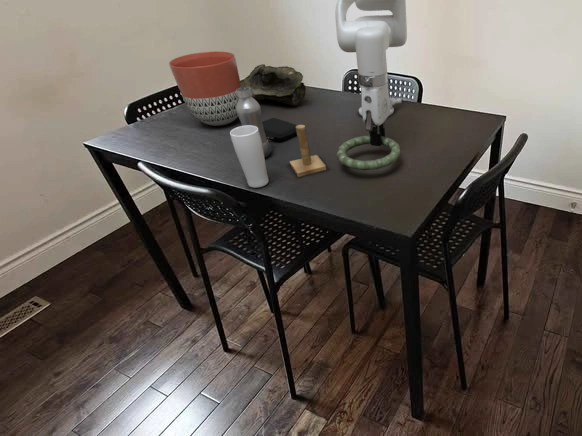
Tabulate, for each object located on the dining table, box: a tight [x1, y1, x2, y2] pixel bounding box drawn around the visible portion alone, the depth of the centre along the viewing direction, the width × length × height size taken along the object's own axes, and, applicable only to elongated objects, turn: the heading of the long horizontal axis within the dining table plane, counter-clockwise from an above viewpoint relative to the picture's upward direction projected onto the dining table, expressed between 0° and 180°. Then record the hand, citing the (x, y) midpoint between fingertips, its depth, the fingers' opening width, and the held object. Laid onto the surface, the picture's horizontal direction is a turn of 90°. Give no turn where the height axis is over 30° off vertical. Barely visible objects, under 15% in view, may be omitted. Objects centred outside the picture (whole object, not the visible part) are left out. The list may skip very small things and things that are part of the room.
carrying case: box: [262, 117, 297, 142], centre depth 135 cm, size 11×3×15 cm
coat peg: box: [289, 124, 327, 178], centre depth 113 cm, size 8×8×12 cm
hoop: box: [336, 135, 401, 171], centre depth 114 cm, size 17×17×2 cm
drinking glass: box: [229, 125, 270, 189], centre depth 106 cm, size 7×7×15 cm
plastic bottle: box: [236, 86, 272, 158], centre depth 117 cm, size 6×7×20 cm
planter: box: [168, 50, 242, 127], centre depth 139 cm, size 20×20×21 cm
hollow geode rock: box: [242, 63, 307, 107], centre depth 159 cm, size 28×13×15 cm
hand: (378, 142), depth 120 cm, fingers closed on hoop, 2 cm apart
